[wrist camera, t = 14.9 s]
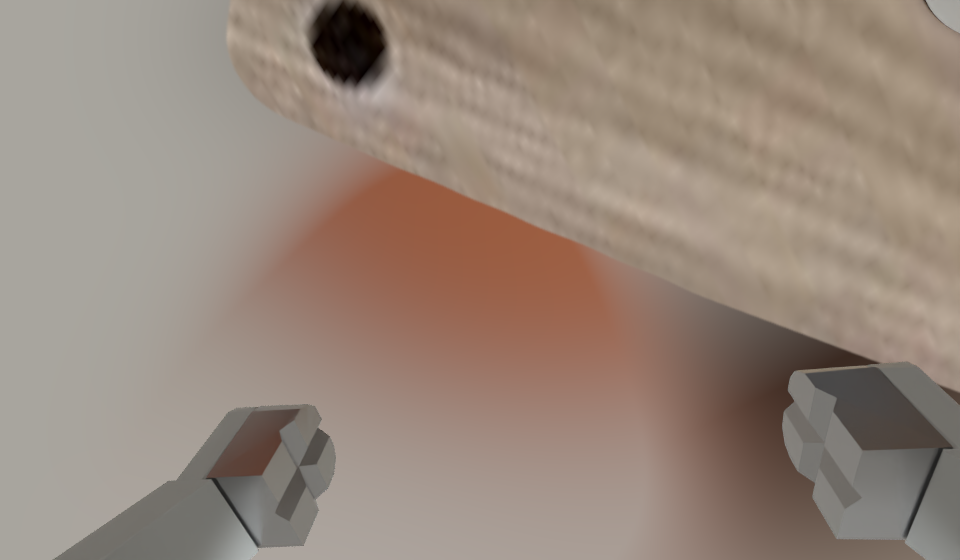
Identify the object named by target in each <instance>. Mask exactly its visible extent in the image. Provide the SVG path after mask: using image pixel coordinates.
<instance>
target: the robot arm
mask: <svg viewBox="0 0 960 560" xmlns="http://www.w3.org/2000/svg"><path fill="white" fill-rule="evenodd" d="M926 2H927V4H928V6H929V7H930V9H931V10H932V12H933V13H934V14H935V15H936V17H937V18H938V19H939V20H940V21H941V22H943V23H944V24H945V25H946V26H948V27H949V28H951V29H952V30H954V31H956V32H958V33H960V0H926ZM788 391H789V393H790V394H791V396H792V397H793V399H794V400H795V402H794V403H793V404H792V405H790V406H789V407H788V408H787V409H786V410H785V411H784V417H783V425H782V428H783V434H784V441H785V445H786V448H787V451H788V453H789V456H790V458H791V460H792V462H793V464H794V465H795V467H796V469H797V471H798V472H799V473H801V474H803V475H804V476H805V477H807V478H809V479H810V480H811V481H813V482H814V483H815V488H814V492H813V499H814V501H815V502H816V504H817V506H818V508H819V509H820V511H821V513H822V514H823V516H824V518H825V520H826V521H827V523H828V525H829V526H830V528H831V530H832V532H833V533H834V535H835V537H836V539H888V540H890V539H892V540H906V541H905V543H906V544H907V545H908V546H909V547H911V548H912V549H913V550H915V551H916V552H917V553H918V554H920V555H921V556H922V557H924V558H925V559H926V560H960V405H959V404H958V403H956V402H955V401H954V400H953V399H952V398H951V397H950V396H949V395H948V394H947V393H946V392H944V390H942V389H941V388H940V387H939V386H938V385H937V384H936V383H935V382H934V381H933V380H932V379H931V378H929V377H928V376H927V375H926V374H925V373H924V372H923V371H922V370H921V369H920V368H919V367H917V366H916V365H913V364H911V363H909V362H896V363H884V364H872V365H867V366H851V367H838V368H825V369H812V370H799V371H795V372H794V373H793V375H792V376H791V377H790V382H789V387H788ZM321 420H322V419H321V417H320V415H319V413H318V411H317V409H316V407H315V406H312V405H308V404H302V405H280V406H260V407H245V408H236V409H234V410H232V411H230V412H228V413H227V414H226V416H225V417H224V419H223V420H222V421H221V422H220V424H219V425H218V426H217V428H216V429H215V430H214V432H213V433H212V434H211V435H210V437H209V438H208V439H207V441H206V442H205V443H204V445H203V446H202V447H201V449H200V450H199V451H198V453H197V454H196V455H195V457H194V458H193V459H192V460H191V462H190V463H189V464H188V466H187V467H186V468H185V470H184V471H183V472H182V474H181V475H180V476H179V477H178V479H177V480H176V481H168V482H166V483H165V484H163V485H162V486H160V487H159V488H157V489H156V490H154V491H153V492H151V493H150V494H149V495H147V496H146V497H144V498H143V499H141V500H140V501H138V502H137V503H135V504H134V505H132V506H131V507H130V508H128V509H127V510H125V511H124V512H122V513H121V514H119V515H118V516H116V517H115V518H113V519H112V520H111V521H109V522H108V523H106V524H105V525H103V526H102V527H100V528H99V529H97V530H96V531H94V532H93V533H91V534H90V535H88V536H87V537H86V538H84V539H83V540H81V541H80V542H78V543H77V544H75V545H74V546H72V547H71V548H69V549H68V550H66V551H65V552H64V553H62V554H61V555H59V556H58V557H56V558H55V559H53V560H251V558H252V557H253V556H254V555H255V554H256V553H257V552H258V551H259V549H258V548H263V547H286V546H304V543H305V541H306V539H307V536H308V534H309V532H310V529H311V527H312V525H313V522H314V520H315V518H316V516H317V513H318V511H319V509H318V506H317V502H316V498H317V497H319V496H320V495H321V494H322V493H323V492H324V491H325V490H327V489H328V487H329V485H330V482H331V480H332V477H333V475H334V469H335V461H336V455H335V449H334V445H333V442H332V440H331V438H330V436H328V435H327V434H326V433H324V432H323V431H322V430H320V429H319V428H318V427H319V425H320V422H321Z"/></svg>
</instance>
